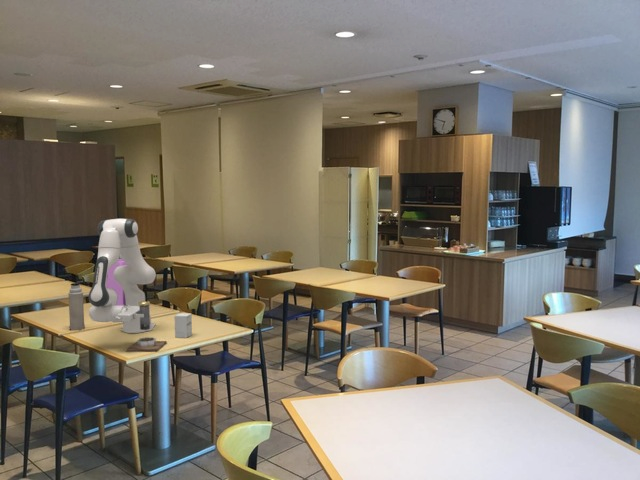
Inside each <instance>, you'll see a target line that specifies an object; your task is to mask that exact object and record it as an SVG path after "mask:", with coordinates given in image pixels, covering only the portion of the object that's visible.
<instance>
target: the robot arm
mask: <svg viewBox="0 0 640 480" xmlns="http://www.w3.org/2000/svg"><path fill="white" fill-rule="evenodd" d="M138 233H139V225H138V222H137V221H136V220H135V219H133V218H113V219H104V220H100V222H99V223H98V225H97V234H98V235H99V241H98V250H97V251H98V252H97V259H96V263H95V268H94V276H93V281H92V287H91V288H90V290H89V293H88V301H89V303H90V304H91V305H92V306H90V307H89V309H88V316H89V318H90V319H91V320H92V321H93V322H97V323H110V322H112V323H122V327H121V328H120V331H122V332H124V333H127V334H128V333H129V334H137V333H144V332H150V331H153V330H154V328H155V327H156V323H155V322H152V316H151V315H150V329H147V330H141V329H140V317H144V316H145V314H140V308H139V302H142V301H146V295H145V294H146V293H145V292H144V291H143V290H141V289H140V288H139V286H138V285H149V284H152V283H153V282H154V281H155V280H156V278H157V277H156V276H157V275H156V271H155V268H153V266H150V265H149V264H148V263H147V262H146V260H145V259H144V257H143V255H142V252H141V248H140V244H139V239H138V235H137V234H138ZM119 259H122V260H124V261H125V262H127V263H128V264H129V265H124V266H119V267H117V268H116V269H115V270H114V274H113V275H114V279H115V281H116V282H118V283H119V284H120V285H121V287H122V289H123V291H124V294H125V301H126V305H124V306H116V303H117V298H118V295H117V293H116V291H115V290H113V289H110V288H106V282H107V278H108V270H109V268H110V267H111V266H112V265H114V264H116V263H117V262H118V260H119Z"/></svg>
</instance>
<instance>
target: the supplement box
mask: <svg viewBox="0 0 640 480" xmlns="http://www.w3.org/2000/svg"><path fill="white" fill-rule="evenodd" d="M192 315H193V314H192V313H190V312H189V313H186V312H180V313H178V314H175V315H174V337H175V338H180V339H181V338H182V339H187V338H188V337H190V336H192V335H193V330H192V329H193V325H192V324H193V322H192Z"/></svg>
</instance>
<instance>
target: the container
mask: <svg viewBox="0 0 640 480" xmlns="http://www.w3.org/2000/svg"><path fill="white" fill-rule="evenodd" d="M124 265H129V264H128V263H127V262H125V261H124V260H122V258H119V260H118V262H117V263H116V264H114V265H112V266H111V267H110V268H109V270H108V273H107V281H106V288H110V289H113V290H115V291H116V293H117V295H118V298H117V303H116V306H124V305H126V301H125V294H124V291H123V289H122V287H121V285H120V284H119V283H118V282H116V281H115V279H114V275H113V274H114V270H115V269H116V268H117V267H119V266H124Z"/></svg>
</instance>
